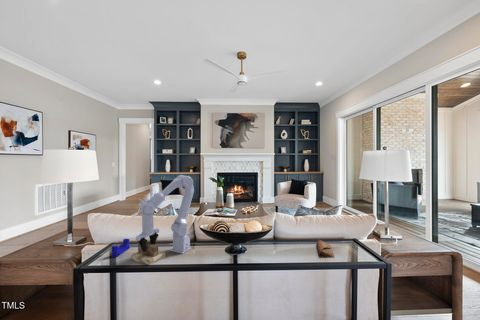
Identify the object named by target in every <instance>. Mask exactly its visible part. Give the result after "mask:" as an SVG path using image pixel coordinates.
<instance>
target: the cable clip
mask: <svg viewBox="0 0 480 320" xmlns="http://www.w3.org/2000/svg"><path fill="white" fill-rule="evenodd" d="M130 245H131V244H130V238H123V239H122V243H121V244H119V245H112V246H111V258H118V257H120V256H121V255H122V254H123V253H125V252H127V251H128V250H129V249H130V247H131V246H130Z"/></svg>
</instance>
